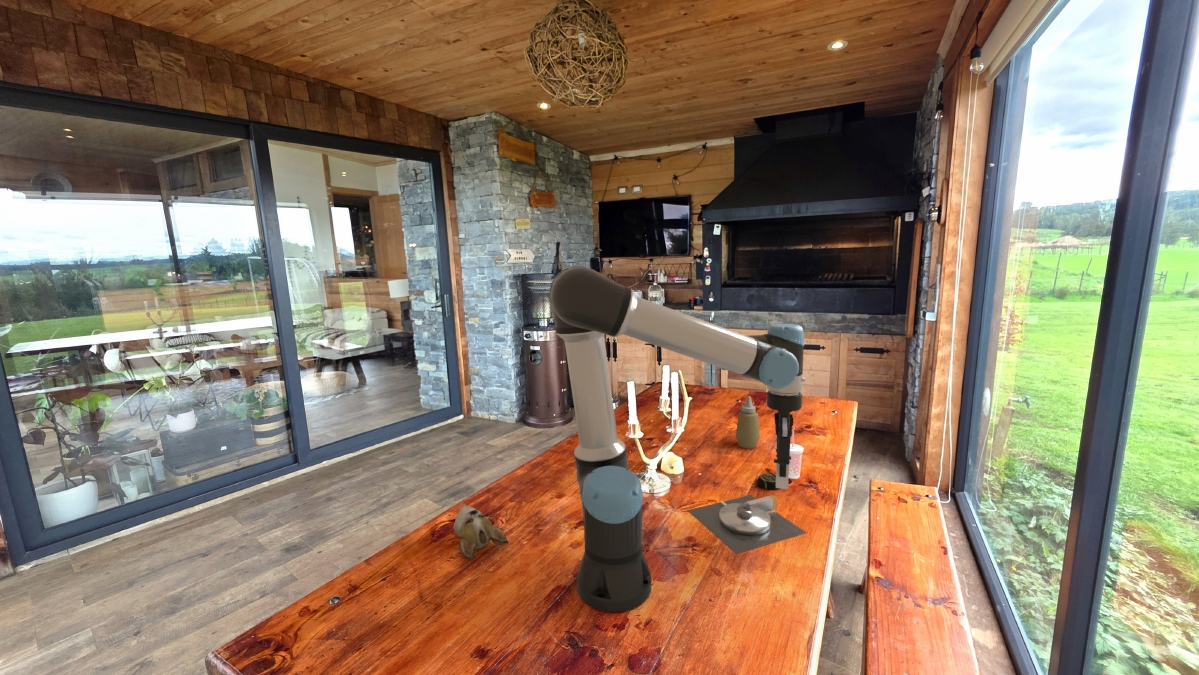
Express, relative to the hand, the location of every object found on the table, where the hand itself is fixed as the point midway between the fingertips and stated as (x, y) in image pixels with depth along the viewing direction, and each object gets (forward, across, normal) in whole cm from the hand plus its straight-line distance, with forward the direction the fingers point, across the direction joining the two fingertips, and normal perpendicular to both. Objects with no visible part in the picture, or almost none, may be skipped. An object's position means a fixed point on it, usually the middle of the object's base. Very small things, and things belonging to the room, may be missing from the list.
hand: (781, 487), depth 113 cm
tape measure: (+12, +23, +2) cm, 26 cm away
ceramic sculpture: (+11, -25, +68) cm, 74 cm away
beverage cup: (+12, +33, -4) cm, 35 cm away
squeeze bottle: (+12, +53, +9) cm, 55 cm away
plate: (+11, 0, +8) cm, 14 cm away
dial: (+10, +1, +7) cm, 12 cm away
